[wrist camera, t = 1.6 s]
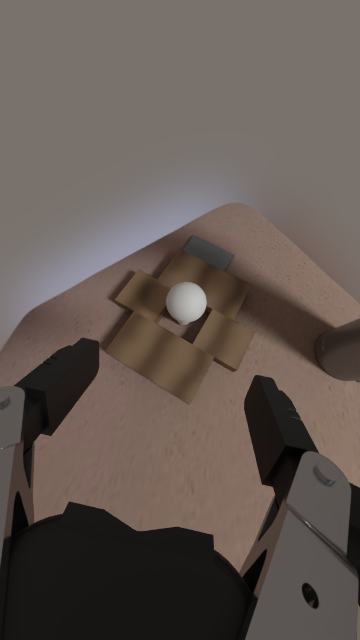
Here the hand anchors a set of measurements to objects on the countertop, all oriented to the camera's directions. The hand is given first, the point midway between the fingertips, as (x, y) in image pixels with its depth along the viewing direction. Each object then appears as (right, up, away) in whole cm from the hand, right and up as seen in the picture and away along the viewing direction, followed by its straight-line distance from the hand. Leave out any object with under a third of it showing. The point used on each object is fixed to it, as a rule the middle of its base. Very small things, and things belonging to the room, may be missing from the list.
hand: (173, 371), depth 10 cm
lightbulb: (+1, +2, +28) cm, 28 cm away
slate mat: (+5, +15, +32) cm, 36 cm away
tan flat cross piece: (+1, +3, +27) cm, 28 cm away
